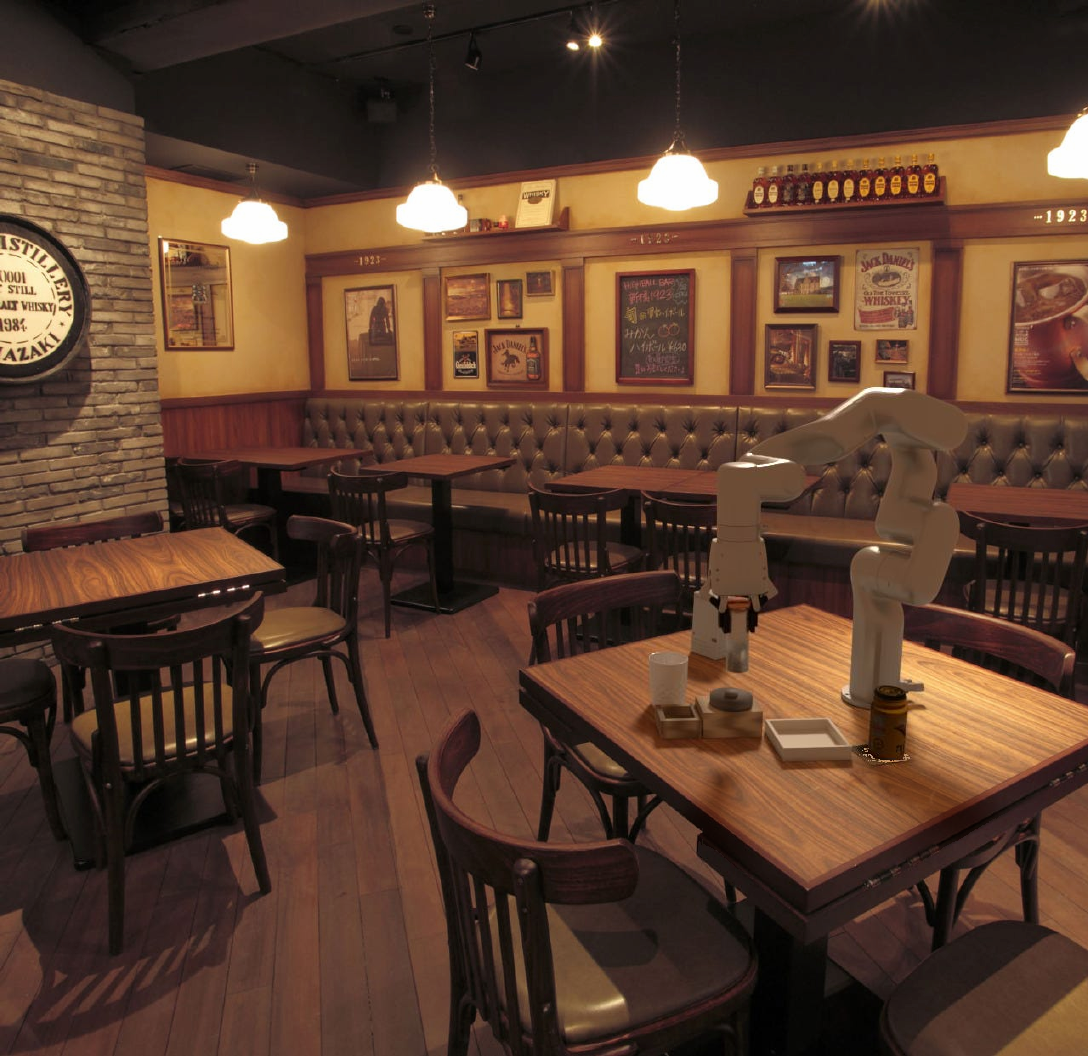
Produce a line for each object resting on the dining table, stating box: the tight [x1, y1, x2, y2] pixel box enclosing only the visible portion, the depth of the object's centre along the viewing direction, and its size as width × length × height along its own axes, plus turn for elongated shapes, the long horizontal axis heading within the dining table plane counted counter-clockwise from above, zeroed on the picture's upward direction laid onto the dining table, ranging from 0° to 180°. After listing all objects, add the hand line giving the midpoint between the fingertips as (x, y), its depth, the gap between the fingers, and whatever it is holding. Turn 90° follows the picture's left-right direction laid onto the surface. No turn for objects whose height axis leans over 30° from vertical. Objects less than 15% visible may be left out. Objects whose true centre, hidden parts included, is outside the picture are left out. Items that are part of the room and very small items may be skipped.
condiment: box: [851, 685, 916, 766], centre depth 152 cm, size 7×8×12 cm
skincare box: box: [690, 589, 736, 661], centre depth 204 cm, size 8×6×15 cm
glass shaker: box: [725, 596, 751, 674], centre depth 158 cm, size 5×5×13 cm
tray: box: [764, 717, 853, 762], centre depth 157 cm, size 12×12×2 cm
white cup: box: [648, 650, 689, 708], centre depth 175 cm, size 8×8×10 cm
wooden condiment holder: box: [654, 686, 764, 740], centre depth 164 cm, size 19×8×7 cm, turn 91°
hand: (737, 629), depth 157 cm, fingers closed on glass shaker, 4 cm apart
